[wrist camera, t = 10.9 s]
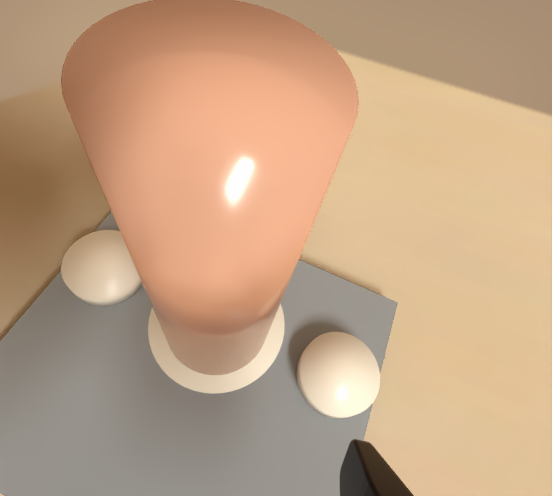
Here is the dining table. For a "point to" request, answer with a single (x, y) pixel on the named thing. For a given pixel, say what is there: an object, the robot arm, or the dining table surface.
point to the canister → (211, 158)
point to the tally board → (182, 389)
